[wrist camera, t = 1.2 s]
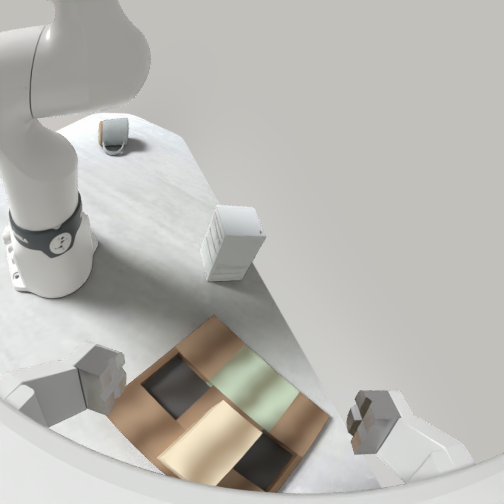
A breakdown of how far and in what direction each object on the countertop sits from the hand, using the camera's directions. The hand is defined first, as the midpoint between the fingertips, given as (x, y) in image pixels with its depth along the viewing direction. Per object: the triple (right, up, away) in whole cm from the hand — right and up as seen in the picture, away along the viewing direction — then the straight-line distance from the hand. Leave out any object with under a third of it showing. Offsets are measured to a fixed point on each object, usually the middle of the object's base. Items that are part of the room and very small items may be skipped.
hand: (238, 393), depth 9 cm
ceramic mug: (-38, +34, +61) cm, 79 cm away
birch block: (-7, -22, +23) cm, 32 cm away
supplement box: (-6, +2, +48) cm, 48 cm away
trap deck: (-4, -20, +28) cm, 35 cm away
